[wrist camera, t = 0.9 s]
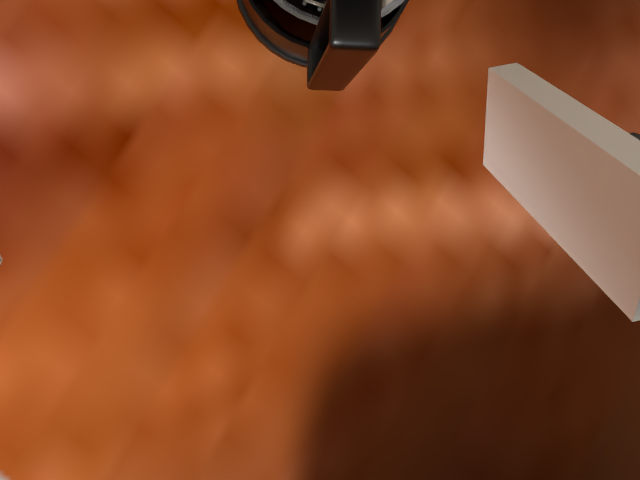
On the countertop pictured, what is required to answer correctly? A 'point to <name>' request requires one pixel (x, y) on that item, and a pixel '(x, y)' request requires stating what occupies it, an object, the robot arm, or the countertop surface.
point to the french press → (326, 35)
